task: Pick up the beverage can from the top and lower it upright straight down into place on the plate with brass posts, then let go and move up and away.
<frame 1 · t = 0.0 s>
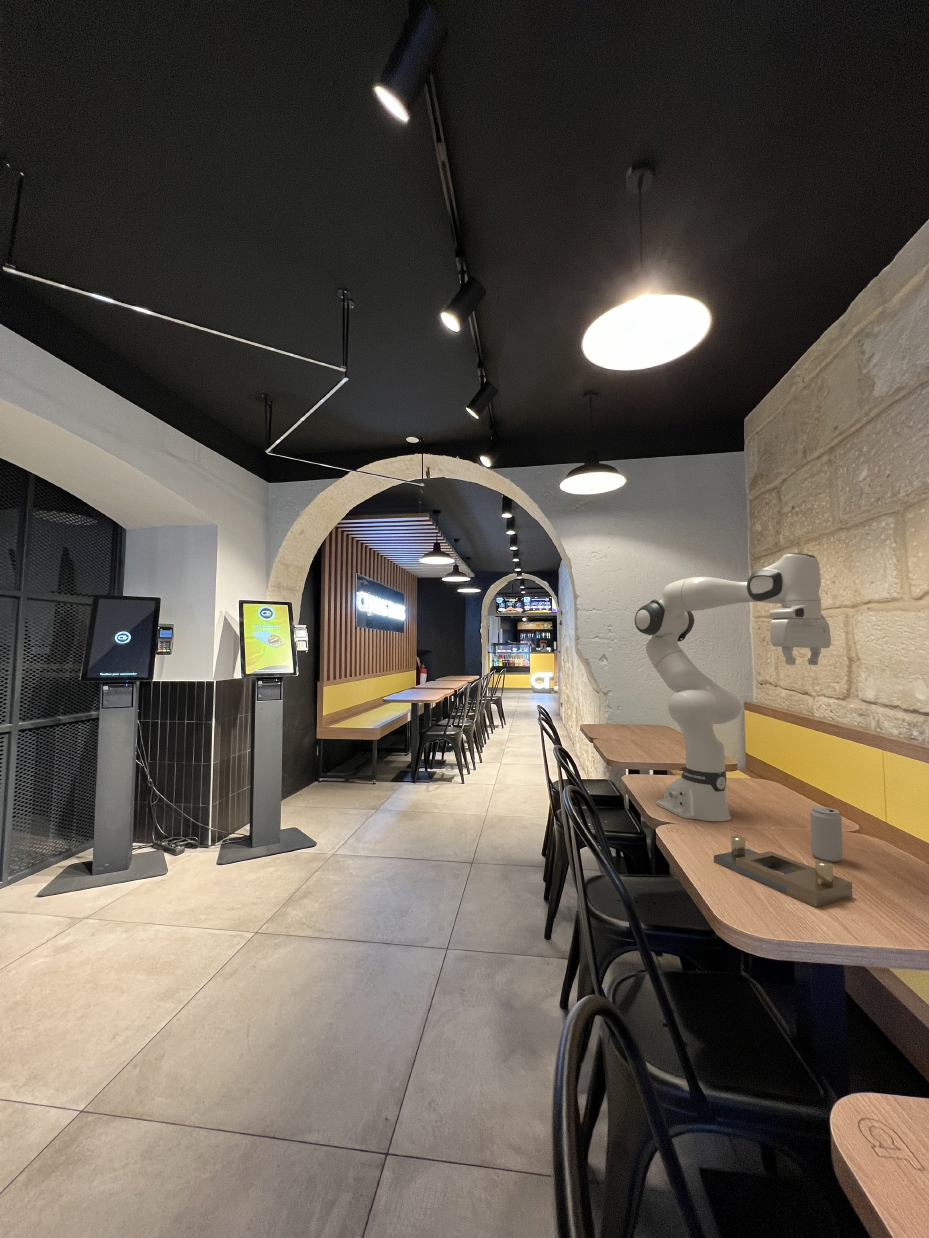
hand: (802, 664, 136), 48 cm above the table, tool pointing down, fingers open, 8 cm apart
beverage can: (826, 858, 129), on the table
plate with brass posts: (778, 878, 116), on the table
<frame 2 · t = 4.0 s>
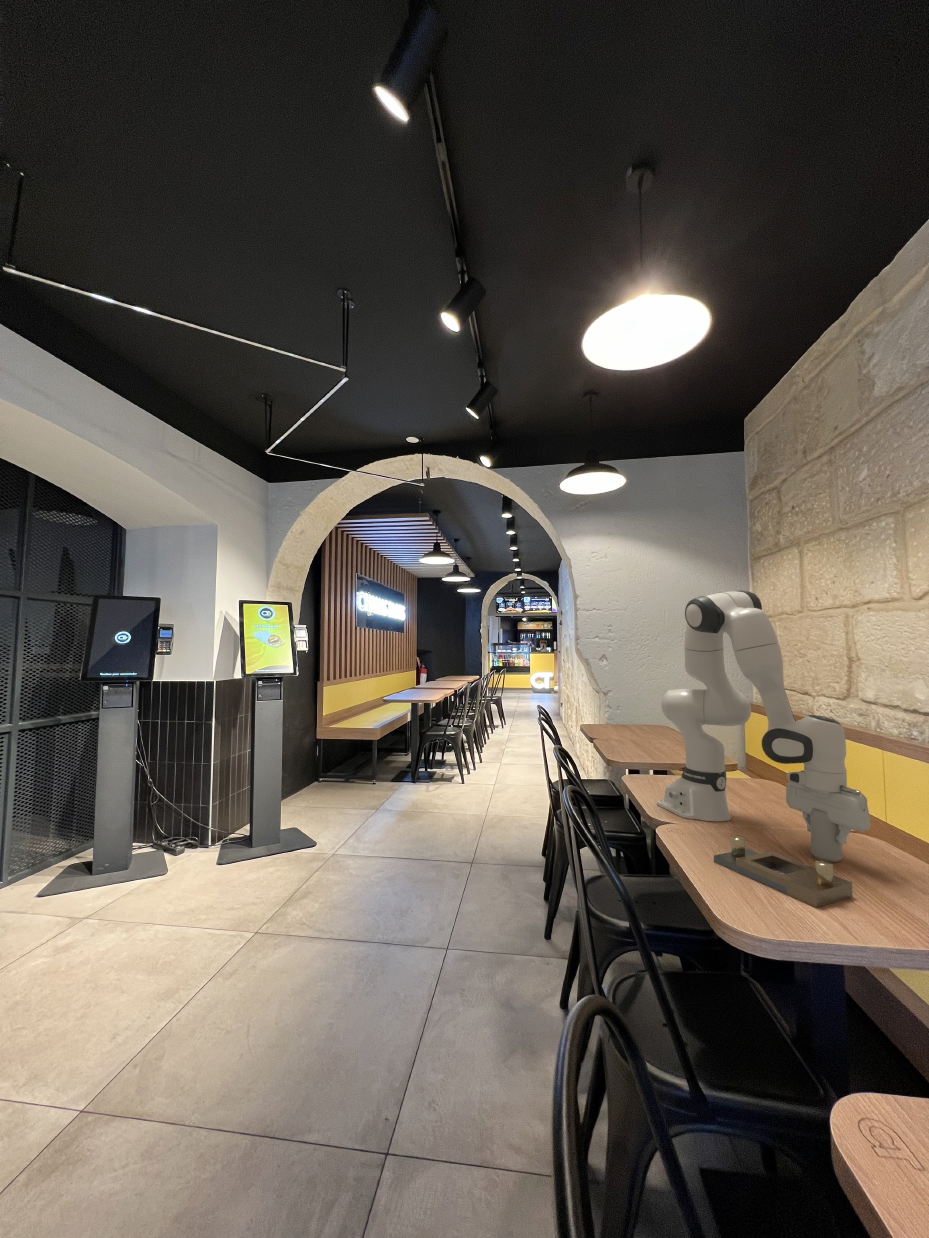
hand: (826, 837, 129), 5 cm above the table, tool pointing down, fingers closed on beverage can, 6 cm apart
beverage can: (826, 858, 129), on the table, touching gripper
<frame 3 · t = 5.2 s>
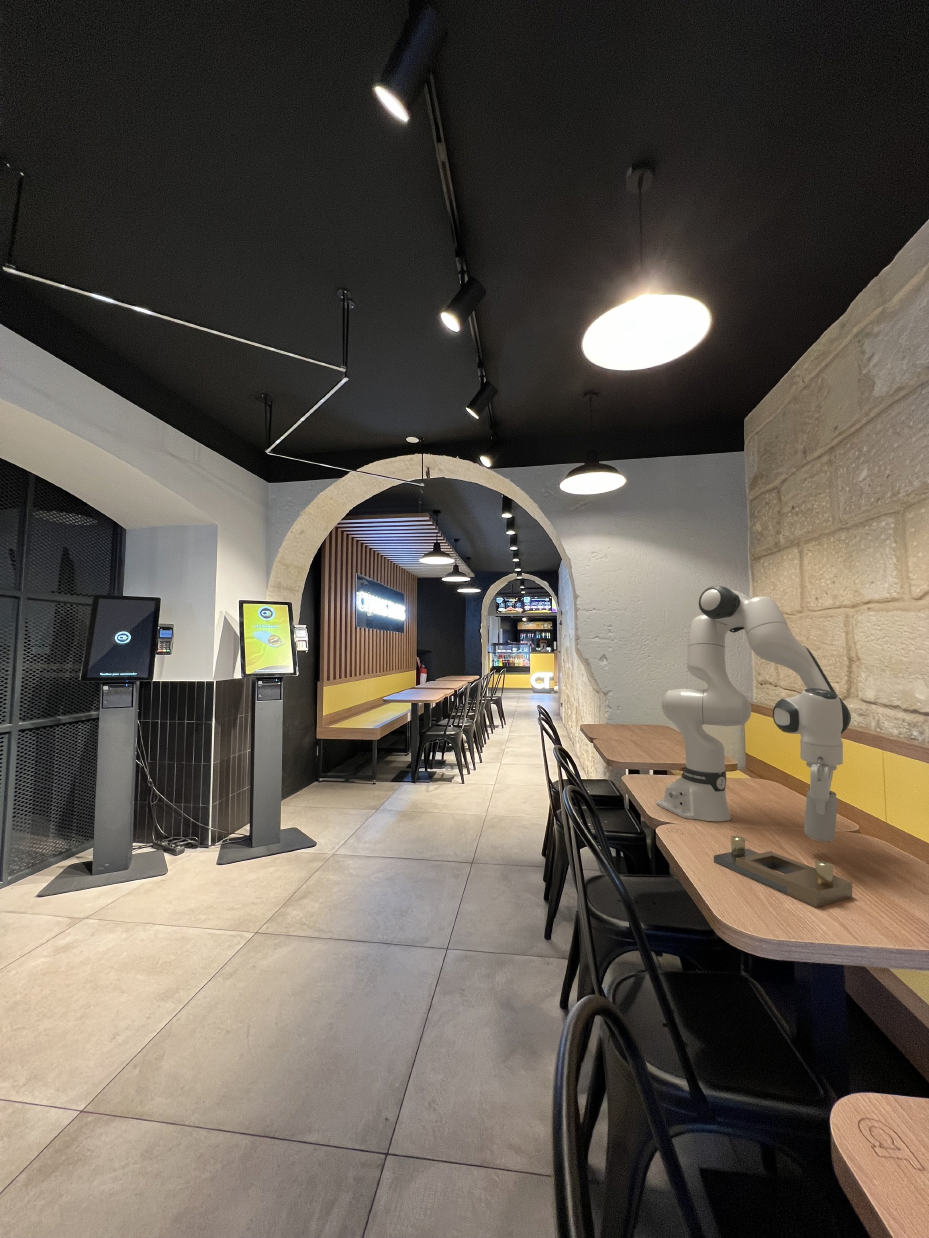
hand: (821, 808, 130), 12 cm above the table, tool pointing down, fingers closed on beverage can, 6 cm apart
beverage can: (818, 838, 130), point 4 cm above the table, touching gripper
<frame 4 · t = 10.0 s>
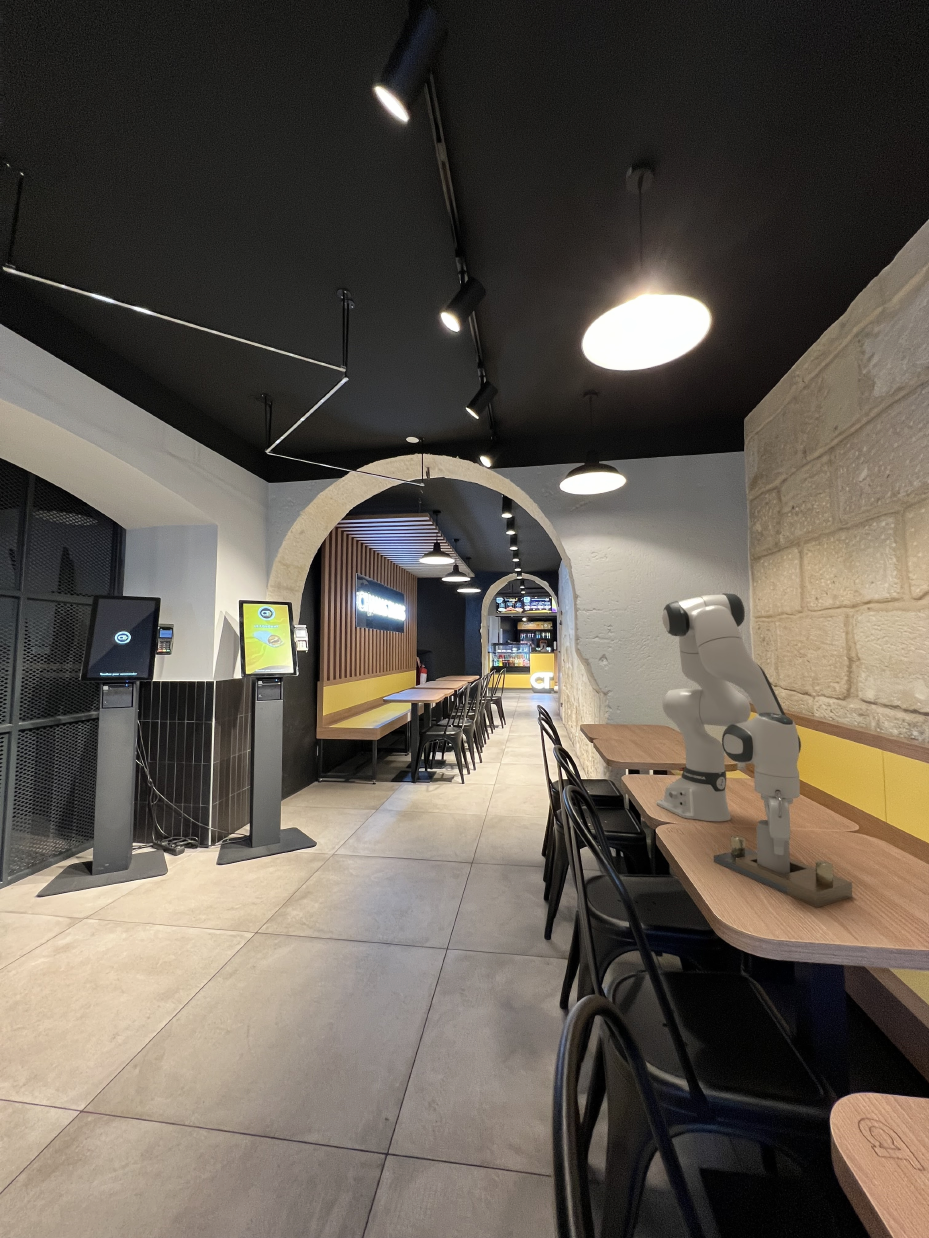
hand: (777, 847, 117), 7 cm above the table, tool pointing down, fingers closed on beverage can, 6 cm apart
beverage can: (773, 878, 117), resting in plate with brass posts, touching gripper
when the fingers open (7 cm above the table, at t = 10.7 s): beverage can stays where it is, resting in plate with brass posts.
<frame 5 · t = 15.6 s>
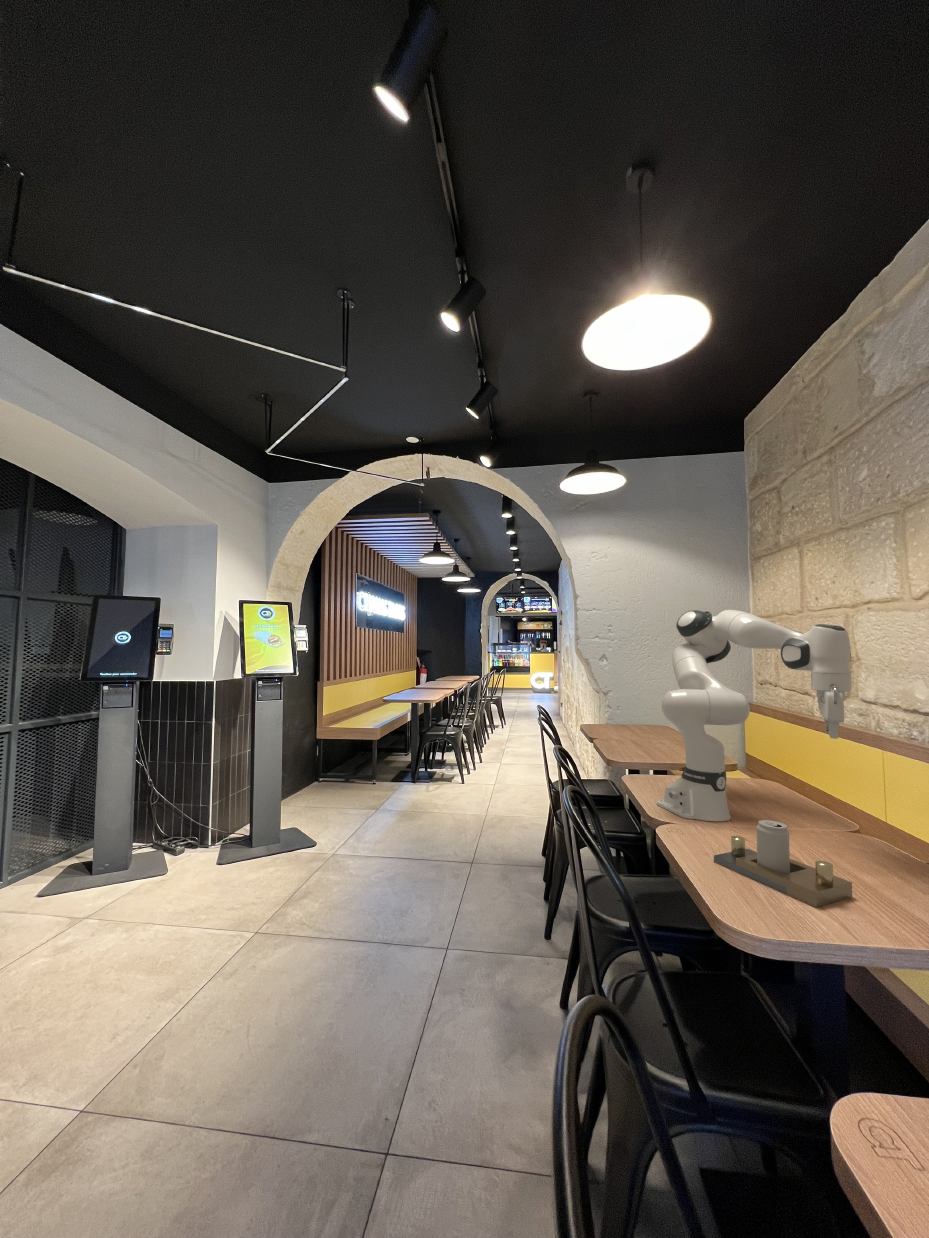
hand: (831, 735, 138), 29 cm above the table, tool pointing down, fingers open, 8 cm apart
beverage can: (773, 878, 117), resting in plate with brass posts
at the end: beverage can 0.9 cm off-centre on the plate with brass posts, point 0.0 cm above the plate with brass posts's base; beverage can tilted 0°; the gripper is holding nothing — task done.
